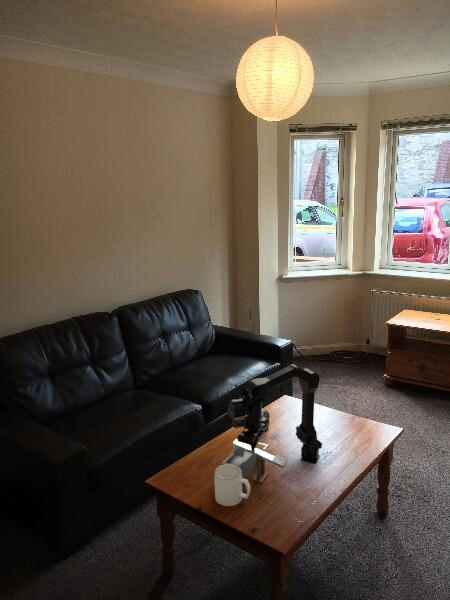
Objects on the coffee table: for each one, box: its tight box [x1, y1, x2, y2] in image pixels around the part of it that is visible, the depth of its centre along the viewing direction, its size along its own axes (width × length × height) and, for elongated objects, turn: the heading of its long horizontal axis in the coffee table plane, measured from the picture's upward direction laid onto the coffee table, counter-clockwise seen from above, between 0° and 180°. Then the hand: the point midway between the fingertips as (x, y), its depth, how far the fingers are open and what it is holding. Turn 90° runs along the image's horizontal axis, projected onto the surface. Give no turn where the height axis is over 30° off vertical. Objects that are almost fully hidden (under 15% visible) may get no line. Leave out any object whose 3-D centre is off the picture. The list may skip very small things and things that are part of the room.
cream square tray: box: [248, 441, 269, 454], centre depth 205 cm, size 10×10×4 cm
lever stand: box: [252, 449, 269, 484], centre depth 188 cm, size 4×6×11 cm, turn 153°
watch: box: [261, 407, 271, 434], centre depth 225 cm, size 6×8×11 cm
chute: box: [221, 451, 256, 479], centre depth 192 cm, size 8×18×8 cm, turn 153°
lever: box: [231, 438, 288, 469], centre depth 187 cm, size 22×5×6 cm, turn 64°
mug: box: [213, 464, 251, 507], centre depth 176 cm, size 14×10×11 cm
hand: (253, 449), depth 188 cm, fingers closed, pressing on lever
